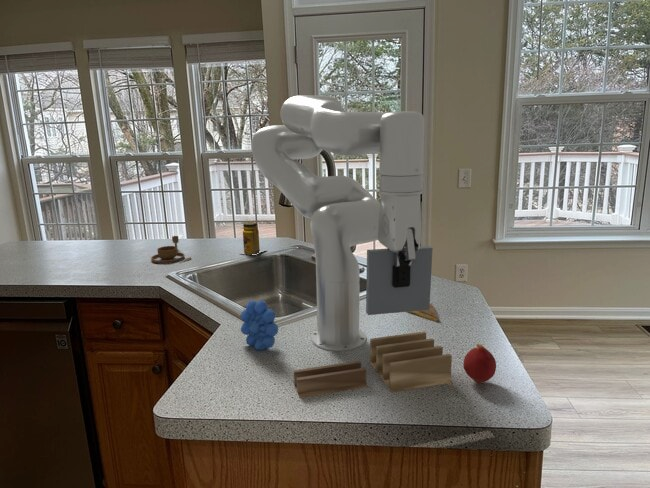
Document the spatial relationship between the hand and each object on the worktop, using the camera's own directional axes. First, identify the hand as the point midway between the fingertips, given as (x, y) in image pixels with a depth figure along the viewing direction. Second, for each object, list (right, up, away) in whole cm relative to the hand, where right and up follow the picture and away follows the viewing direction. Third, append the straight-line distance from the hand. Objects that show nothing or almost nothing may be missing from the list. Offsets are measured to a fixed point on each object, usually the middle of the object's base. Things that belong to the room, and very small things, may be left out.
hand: (399, 284), depth 85 cm
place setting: (-71, +2, +93) cm, 117 cm away
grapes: (-27, -16, +17) cm, 36 cm away
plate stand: (-13, -20, +2) cm, 23 cm away
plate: (0, -5, +1) cm, 5 cm away
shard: (+13, -11, +37) cm, 40 cm away
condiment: (-42, +4, +96) cm, 104 cm away
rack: (+3, -18, +6) cm, 19 cm away
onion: (+15, -19, +3) cm, 25 cm away
